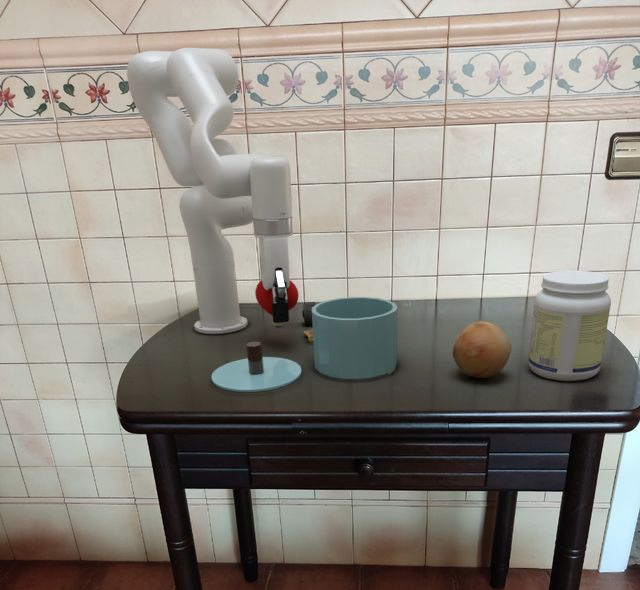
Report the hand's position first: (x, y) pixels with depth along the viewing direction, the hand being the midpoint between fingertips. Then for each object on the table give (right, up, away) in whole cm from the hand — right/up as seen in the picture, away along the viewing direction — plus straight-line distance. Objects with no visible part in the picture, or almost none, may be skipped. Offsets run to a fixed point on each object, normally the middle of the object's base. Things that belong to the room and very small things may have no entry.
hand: (278, 315), depth 123 cm
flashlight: (+13, +2, +19) cm, 23 cm away
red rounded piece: (0, -2, +1) cm, 3 cm away
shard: (+11, -4, +8) cm, 14 cm away
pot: (+15, -11, -8) cm, 21 cm away
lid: (-3, -13, -11) cm, 18 cm away
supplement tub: (+52, -13, -15) cm, 56 cm away
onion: (+37, -14, -15) cm, 43 cm away
